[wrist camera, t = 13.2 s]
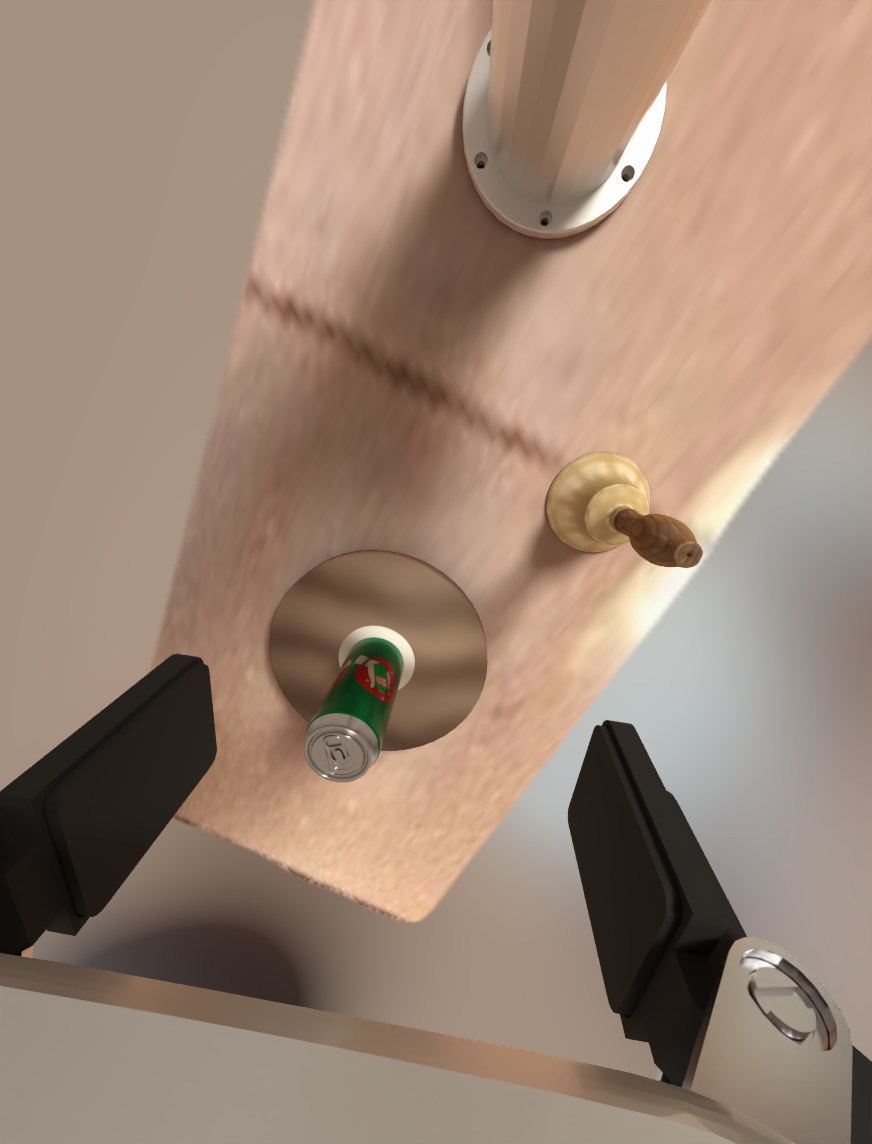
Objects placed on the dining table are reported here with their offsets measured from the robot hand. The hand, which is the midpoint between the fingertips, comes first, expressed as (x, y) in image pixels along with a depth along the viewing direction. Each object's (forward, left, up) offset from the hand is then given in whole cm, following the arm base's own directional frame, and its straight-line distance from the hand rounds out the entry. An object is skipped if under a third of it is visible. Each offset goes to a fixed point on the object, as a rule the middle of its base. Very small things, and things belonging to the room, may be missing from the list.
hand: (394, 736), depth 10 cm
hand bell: (-3, +12, -28) cm, 30 cm away
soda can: (+13, -5, -25) cm, 28 cm away
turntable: (+13, -5, -26) cm, 30 cm away
